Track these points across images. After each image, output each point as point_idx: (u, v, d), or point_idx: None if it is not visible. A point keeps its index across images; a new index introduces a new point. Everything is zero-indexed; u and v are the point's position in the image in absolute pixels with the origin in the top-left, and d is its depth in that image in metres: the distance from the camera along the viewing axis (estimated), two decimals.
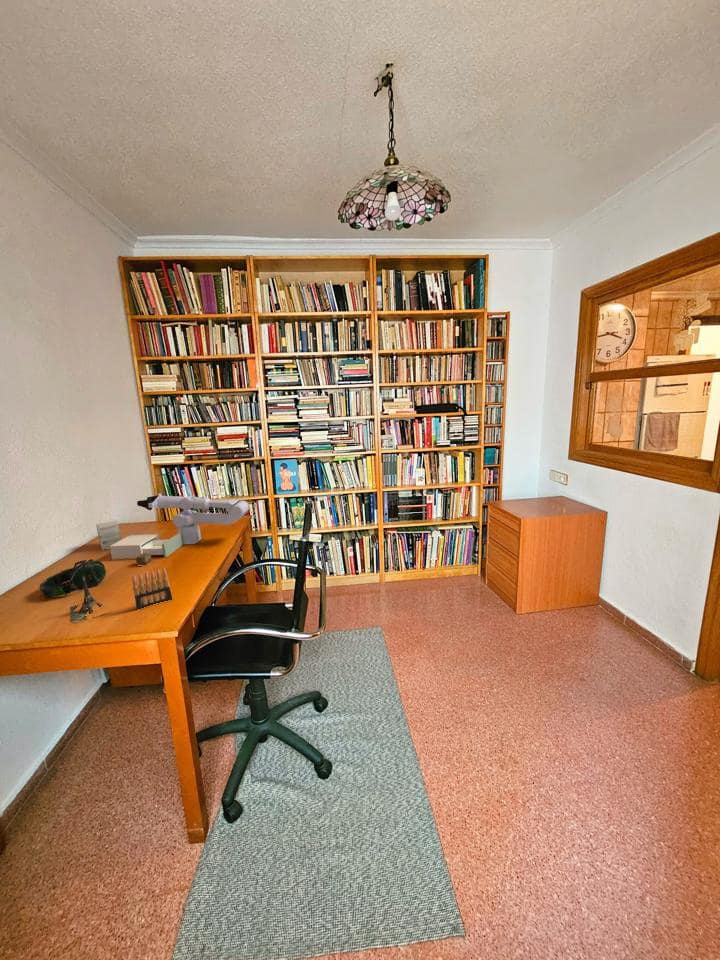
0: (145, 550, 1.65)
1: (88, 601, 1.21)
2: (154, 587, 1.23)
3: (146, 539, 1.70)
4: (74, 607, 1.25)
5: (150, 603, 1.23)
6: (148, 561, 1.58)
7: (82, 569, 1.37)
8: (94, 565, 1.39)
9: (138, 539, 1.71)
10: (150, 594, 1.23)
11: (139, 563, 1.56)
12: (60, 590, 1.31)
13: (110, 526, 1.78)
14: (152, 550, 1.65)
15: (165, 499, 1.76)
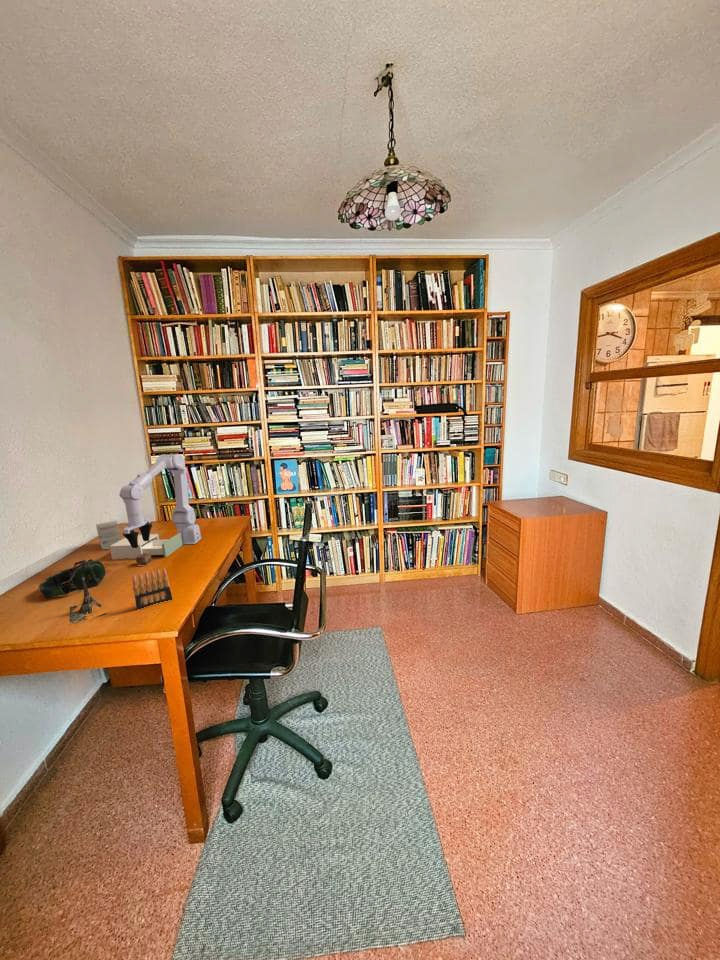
0: (145, 550, 1.65)
1: (87, 601, 1.21)
2: (154, 587, 1.23)
3: None
4: (73, 607, 1.25)
5: (150, 603, 1.23)
6: (148, 561, 1.58)
7: (82, 569, 1.37)
8: (94, 565, 1.39)
9: (138, 539, 1.71)
10: (150, 594, 1.23)
11: (139, 563, 1.56)
12: (59, 590, 1.31)
13: (110, 526, 1.78)
14: (152, 550, 1.65)
15: None
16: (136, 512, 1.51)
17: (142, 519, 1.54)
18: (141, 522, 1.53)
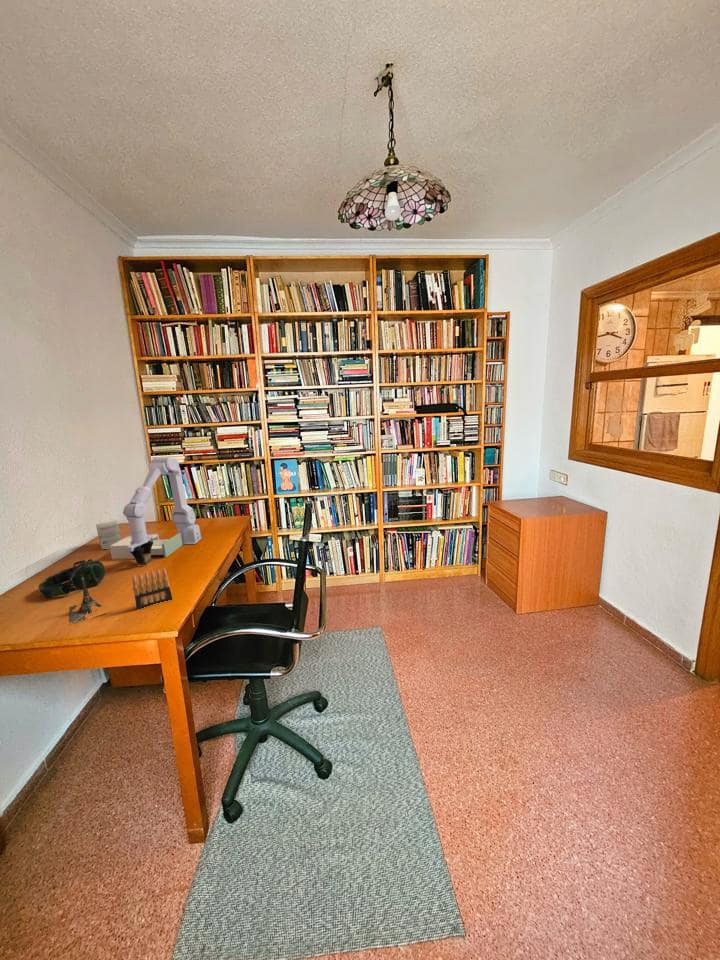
0: None
1: (87, 601, 1.21)
2: (154, 587, 1.23)
3: None
4: (73, 607, 1.25)
5: (150, 603, 1.23)
6: (148, 561, 1.58)
7: (81, 569, 1.37)
8: (93, 565, 1.39)
9: None
10: (150, 594, 1.23)
11: None
12: (59, 590, 1.31)
13: (110, 526, 1.78)
14: (152, 550, 1.65)
15: (131, 534, 1.53)
16: (139, 530, 1.53)
17: (145, 536, 1.55)
18: (144, 539, 1.55)
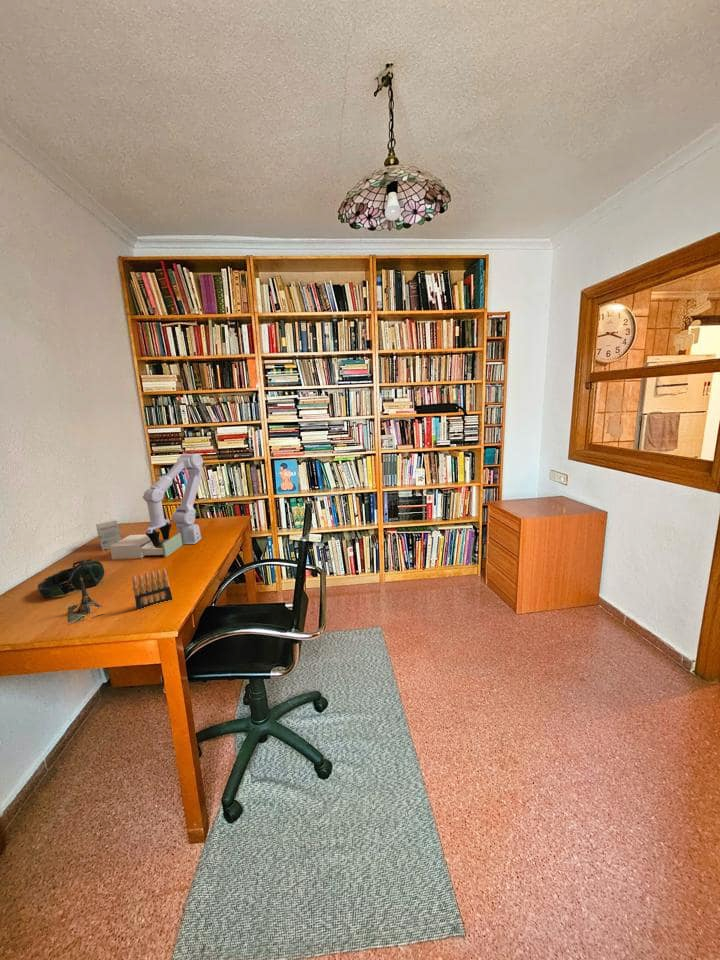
0: (145, 550, 1.65)
1: (86, 601, 1.21)
2: (154, 587, 1.23)
3: (146, 539, 1.70)
4: (72, 607, 1.25)
5: (150, 603, 1.23)
6: None
7: (80, 569, 1.37)
8: (92, 565, 1.39)
9: (138, 539, 1.71)
10: (150, 594, 1.23)
11: None
12: (58, 590, 1.31)
13: (110, 526, 1.78)
14: (152, 550, 1.65)
15: (150, 518, 1.65)
16: (156, 514, 1.65)
17: (163, 520, 1.68)
18: (162, 522, 1.67)
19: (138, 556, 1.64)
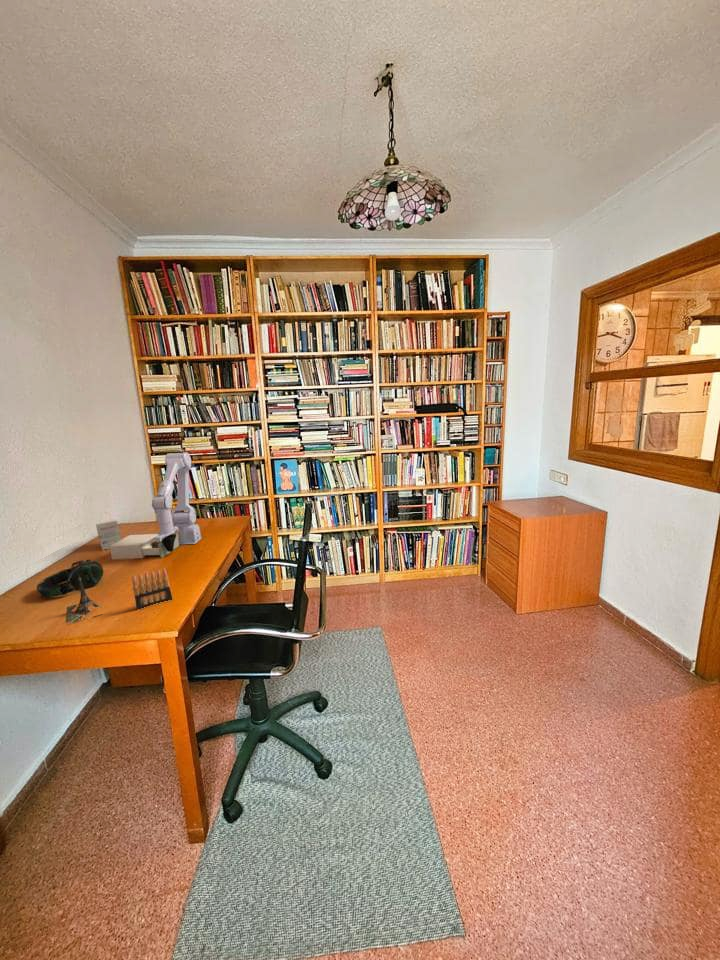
0: None
1: (84, 601, 1.21)
2: (154, 587, 1.23)
3: (146, 539, 1.70)
4: (71, 607, 1.25)
5: (150, 603, 1.23)
6: None
7: (79, 570, 1.36)
8: (91, 566, 1.39)
9: (138, 539, 1.71)
10: (150, 594, 1.23)
11: None
12: (57, 591, 1.31)
13: (110, 526, 1.78)
14: (148, 550, 1.65)
15: (159, 526, 1.62)
16: (168, 520, 1.62)
17: (172, 527, 1.64)
18: (171, 530, 1.63)
19: (138, 556, 1.64)
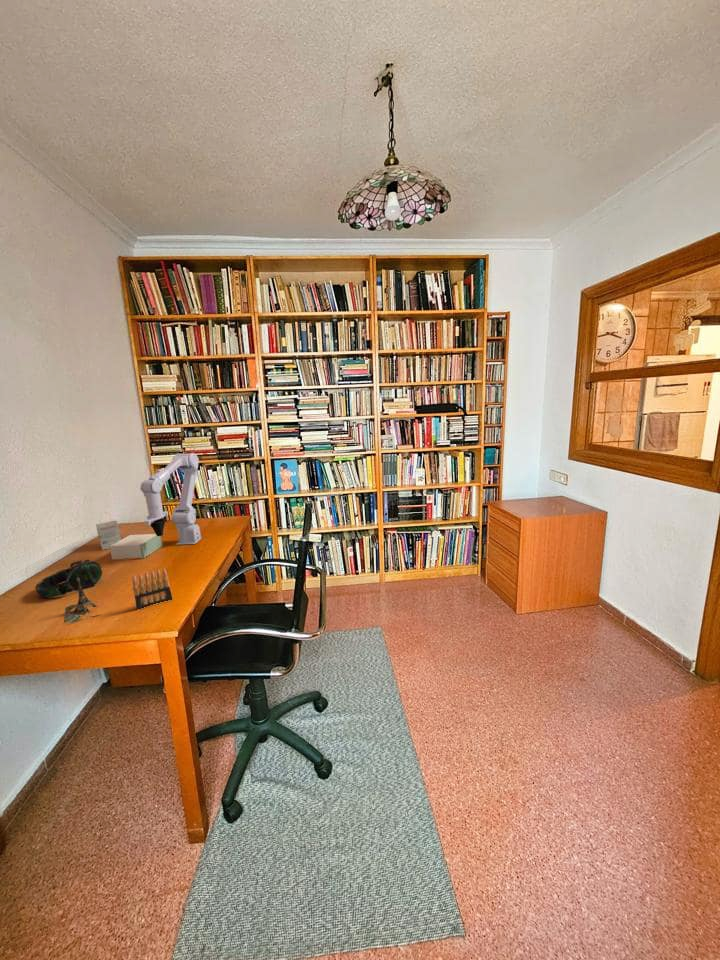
0: None
1: (82, 602, 1.21)
2: (154, 587, 1.23)
3: (146, 539, 1.70)
4: (69, 607, 1.25)
5: (150, 603, 1.23)
6: None
7: (78, 570, 1.36)
8: (90, 566, 1.39)
9: (138, 539, 1.71)
10: (150, 594, 1.23)
11: None
12: (56, 591, 1.31)
13: (110, 526, 1.78)
14: None
15: (148, 509, 1.60)
16: (156, 505, 1.60)
17: (161, 512, 1.62)
18: (160, 514, 1.62)
19: (138, 556, 1.64)
